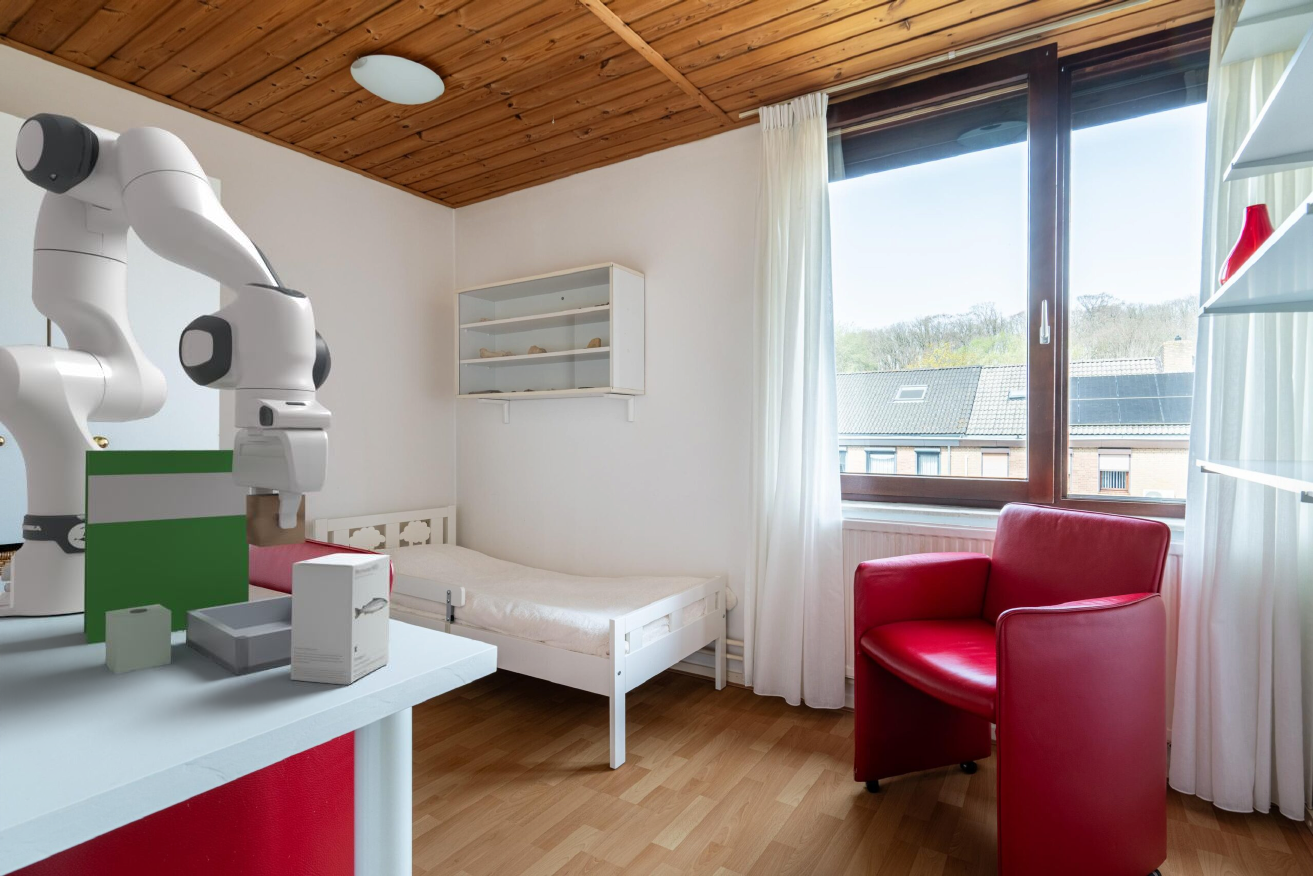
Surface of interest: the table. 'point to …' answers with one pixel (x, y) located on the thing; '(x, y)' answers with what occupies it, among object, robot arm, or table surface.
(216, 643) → the tray
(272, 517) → the walnut block
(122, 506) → the hardback book
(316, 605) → the supplement box
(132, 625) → the sage block
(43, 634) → the table surface
